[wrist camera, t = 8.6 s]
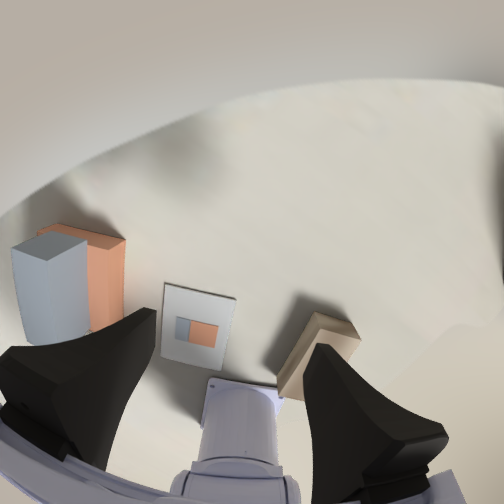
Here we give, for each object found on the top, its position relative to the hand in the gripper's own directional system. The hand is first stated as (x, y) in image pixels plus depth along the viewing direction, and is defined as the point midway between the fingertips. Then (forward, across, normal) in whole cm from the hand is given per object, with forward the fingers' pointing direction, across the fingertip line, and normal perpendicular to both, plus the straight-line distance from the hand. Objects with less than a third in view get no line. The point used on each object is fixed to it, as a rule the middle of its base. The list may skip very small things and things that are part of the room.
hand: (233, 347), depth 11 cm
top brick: (+7, +14, +4) cm, 16 cm away
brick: (+11, -8, +7) cm, 15 cm away
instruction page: (+10, +3, +7) cm, 13 cm away
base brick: (+10, +14, +4) cm, 18 cm away
